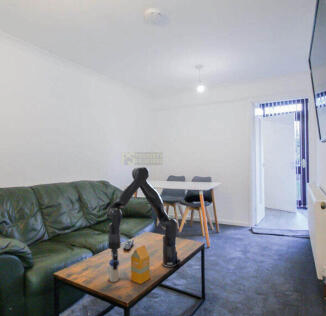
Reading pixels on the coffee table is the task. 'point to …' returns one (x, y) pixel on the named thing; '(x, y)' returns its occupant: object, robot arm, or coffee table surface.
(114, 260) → the lid
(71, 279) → the coffee table surface
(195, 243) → the coffee table surface
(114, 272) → the jar
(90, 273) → the coffee table surface
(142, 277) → the orange juice
